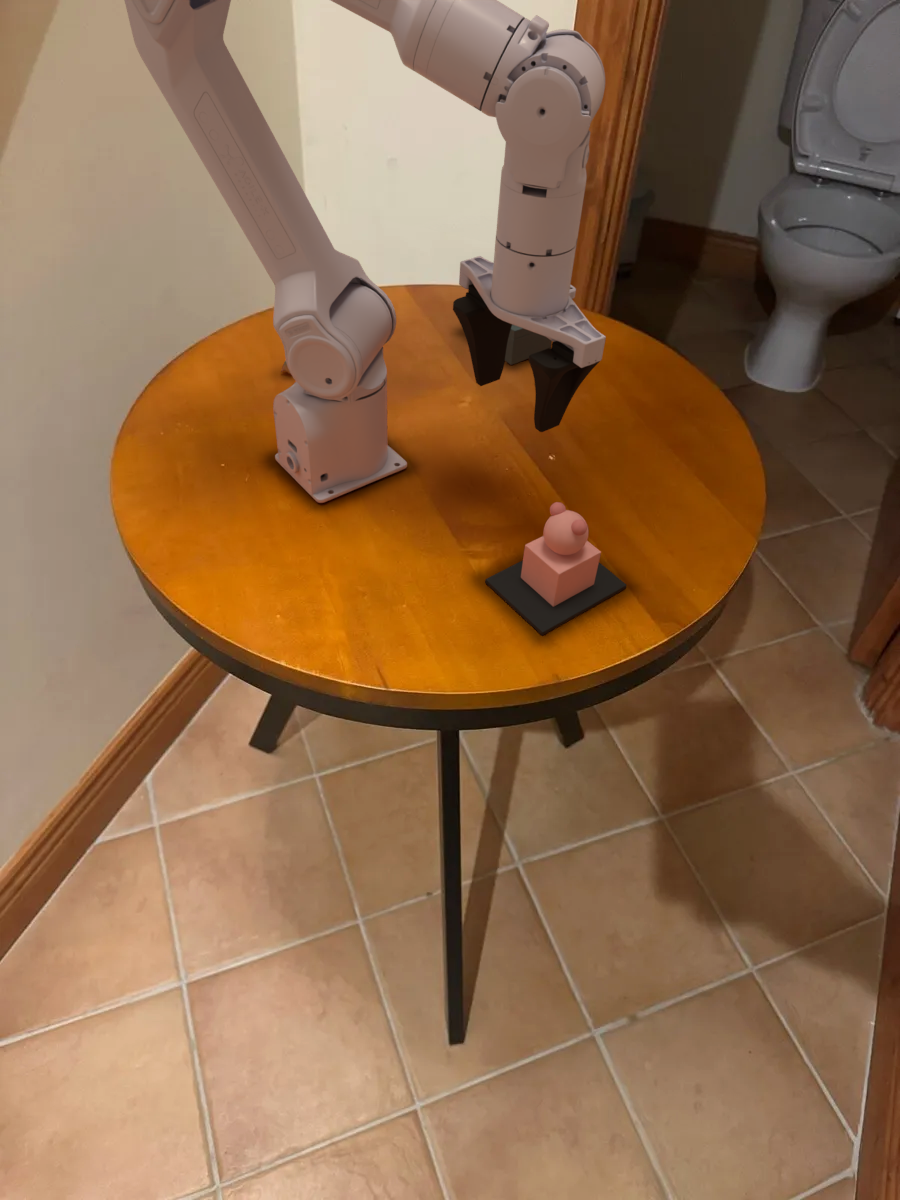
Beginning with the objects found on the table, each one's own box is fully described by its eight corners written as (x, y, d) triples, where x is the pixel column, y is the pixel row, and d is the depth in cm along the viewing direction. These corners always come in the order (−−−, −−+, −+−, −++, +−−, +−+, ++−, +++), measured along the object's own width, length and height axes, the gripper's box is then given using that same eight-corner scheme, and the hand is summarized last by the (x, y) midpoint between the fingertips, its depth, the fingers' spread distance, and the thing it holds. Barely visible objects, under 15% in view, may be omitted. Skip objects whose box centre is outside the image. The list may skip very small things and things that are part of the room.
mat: (542, 635, 69) (542, 632, 69) (484, 582, 73) (485, 579, 72) (626, 588, 73) (627, 584, 73) (567, 540, 77) (568, 536, 76)
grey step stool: (511, 365, 96) (514, 331, 93) (465, 332, 100) (467, 299, 97) (550, 350, 98) (555, 316, 95) (503, 319, 102) (507, 285, 100)
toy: (553, 607, 70) (565, 538, 65) (520, 577, 73) (529, 508, 67) (594, 584, 72) (609, 516, 67) (560, 556, 75) (573, 488, 69)
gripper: (650, 265, 61) (614, 431, 71) (515, 190, 69) (499, 349, 79) (572, 291, 58) (546, 461, 68) (440, 209, 66) (434, 372, 76)
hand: (516, 403), depth 73 cm, fingers open, 7 cm apart
